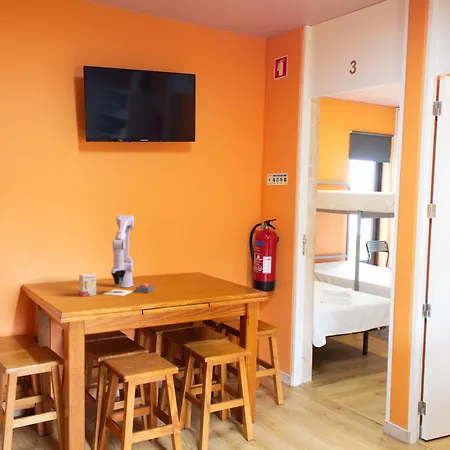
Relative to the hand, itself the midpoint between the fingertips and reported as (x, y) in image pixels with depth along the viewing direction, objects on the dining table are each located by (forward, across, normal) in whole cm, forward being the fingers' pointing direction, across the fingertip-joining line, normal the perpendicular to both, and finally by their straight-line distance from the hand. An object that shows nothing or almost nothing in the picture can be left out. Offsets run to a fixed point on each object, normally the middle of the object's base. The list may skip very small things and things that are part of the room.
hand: (118, 283), depth 314 cm
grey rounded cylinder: (+2, 0, 0) cm, 2 cm away
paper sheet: (+5, 0, 0) cm, 5 cm away
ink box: (+6, +12, -13) cm, 19 cm away
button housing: (+5, -10, +12) cm, 17 cm away
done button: (+3, -10, +12) cm, 16 cm away
